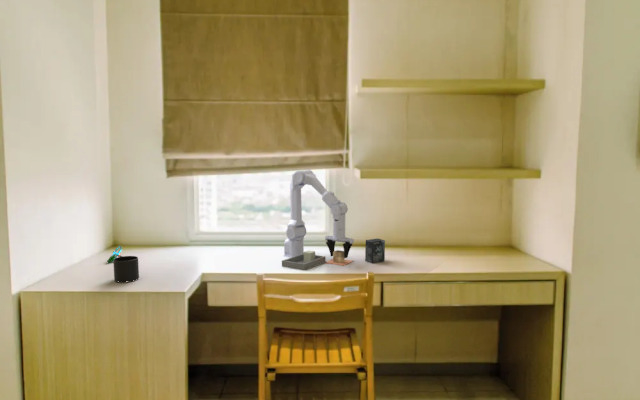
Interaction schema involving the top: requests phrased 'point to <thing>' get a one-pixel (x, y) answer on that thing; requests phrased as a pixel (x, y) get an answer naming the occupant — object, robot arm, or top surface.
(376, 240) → the box
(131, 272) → the mug
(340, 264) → the mat
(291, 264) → the tray
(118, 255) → the stick construction toy
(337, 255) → the label block
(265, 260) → the top surface
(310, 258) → the plain block
